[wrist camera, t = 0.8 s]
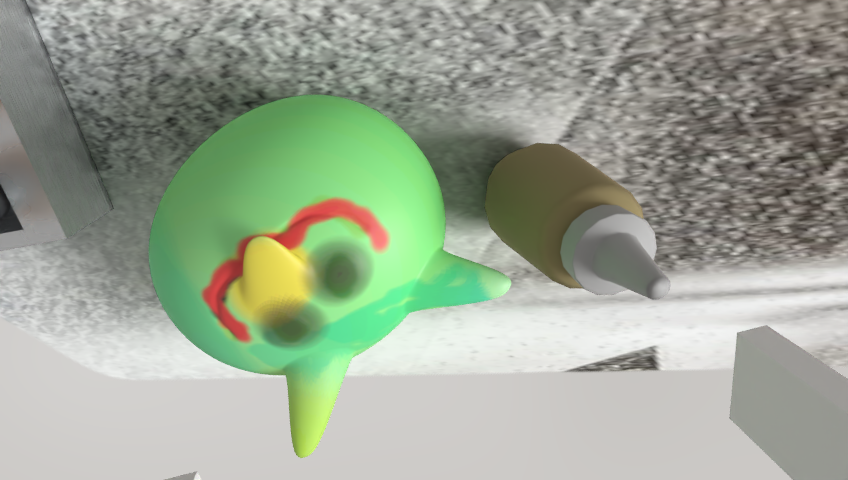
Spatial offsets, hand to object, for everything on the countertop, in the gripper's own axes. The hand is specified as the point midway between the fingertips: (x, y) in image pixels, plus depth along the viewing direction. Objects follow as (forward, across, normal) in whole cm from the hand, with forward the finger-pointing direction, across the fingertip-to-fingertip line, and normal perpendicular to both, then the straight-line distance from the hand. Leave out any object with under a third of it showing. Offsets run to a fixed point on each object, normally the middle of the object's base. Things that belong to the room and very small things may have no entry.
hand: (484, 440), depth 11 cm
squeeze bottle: (+27, +10, -3) cm, 29 cm away
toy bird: (+27, -6, -1) cm, 27 cm away
